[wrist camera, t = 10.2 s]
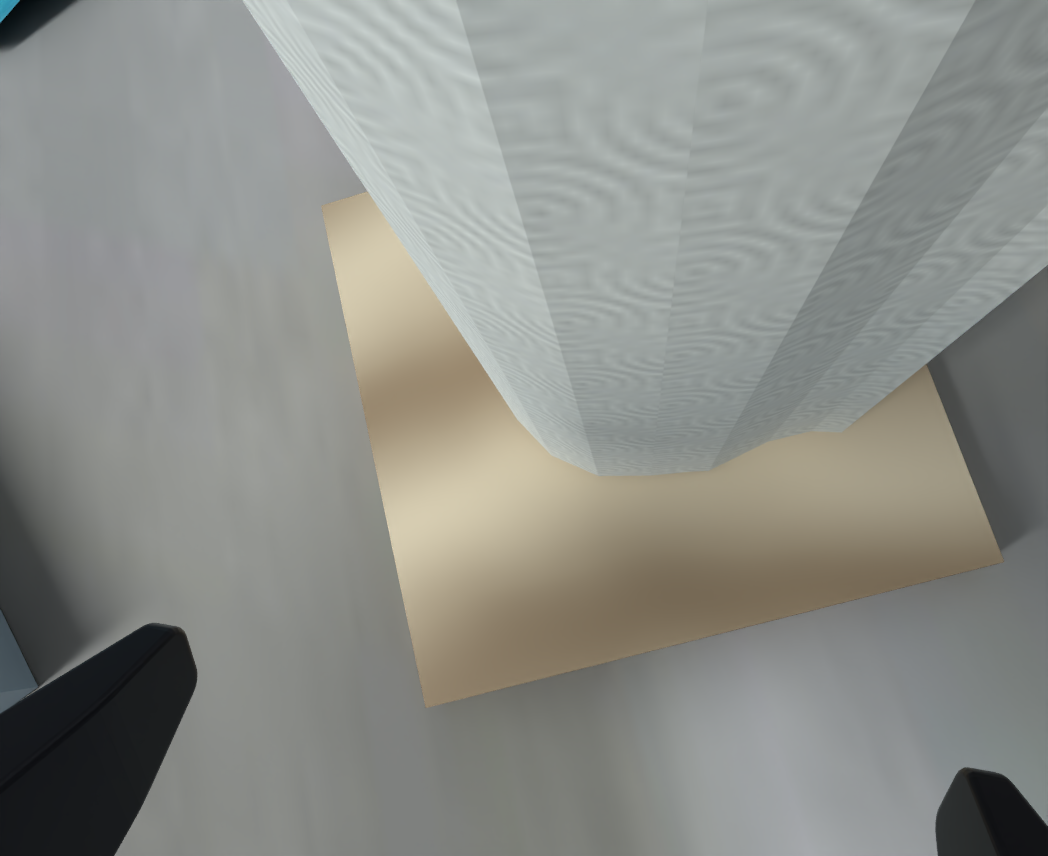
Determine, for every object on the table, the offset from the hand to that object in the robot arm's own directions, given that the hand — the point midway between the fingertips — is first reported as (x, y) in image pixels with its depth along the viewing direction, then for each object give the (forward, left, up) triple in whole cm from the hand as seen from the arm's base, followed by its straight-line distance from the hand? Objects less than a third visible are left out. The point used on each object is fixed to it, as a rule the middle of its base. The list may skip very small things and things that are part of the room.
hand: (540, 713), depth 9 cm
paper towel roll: (+6, -3, -9) cm, 11 cm away
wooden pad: (+6, -3, -10) cm, 12 cm away
